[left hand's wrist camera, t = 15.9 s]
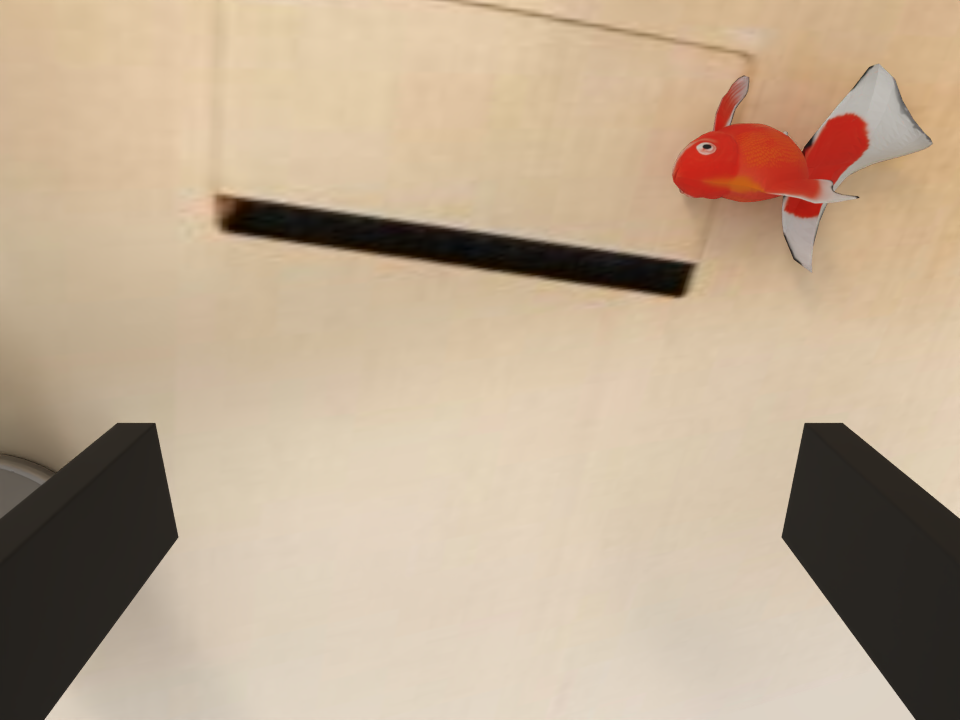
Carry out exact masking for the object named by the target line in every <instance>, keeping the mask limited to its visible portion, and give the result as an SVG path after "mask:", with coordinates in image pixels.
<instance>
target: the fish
mask: <svg viewBox="0 0 960 720" xmlns="http://www.w3.org/2000/svg"><path fill="white" fill-rule="evenodd" d="M748 87H749V77H747V76H742V77H740V78H738V79H737V80H736V81H735V82H734V83H733V84H732V86H731V88H730V89H729V91H728V93H727V94H726V95H725V96H724V97H723V98H722V100H721V103H720V105H719V107H718V110H717V112H716V117H715V122H714V128H713V131H711V132H709V133H706V134H703V135H701V136H700V137H699V138H697V139H696V140H694V141H692V142H691V143H690V144H689V145H688V146H686V147H685V148H684V149H683V150H682V152H681V153H680V154H679V156H678V158H677V160H676V161H675V163H674V166H673V173H672V176H673V181H674V183H675V184H676V185H677V186H678V188H679V190H680V192H681V193H683V194H685V195H686V196H688V197H690V198H700V197H704V198H709V199H717V198H720V197H723V198H726V199H730V200H734V201H739V202H755V201H761V200H766V199H771V198H775V197H778V196H781V195H784V197H783V205H782V225H783V232H784V237H785V239H786V241H787V244H788V246H789V249H790V251H791V254H792V256H793V259H794V260H795V261H797V262H798V263H799V264H801V265H802V266H803V267H805V268H806V269H808V270H809V271H810V272H812V252H813V245H814V241H815V237H816V233H817V229H818V225H819V221H820V219H821V217H822V215H823V212H824V210H825V208H826V205H827V203H834V202H839V201H845V200H851V199H857V198H860V197H858V196H849V195H842V194H839V193H836V192H834V191H835V190H836V189H837V187H838V186H839V185H840V184H841V183H842V182H843V181H844V180H845V179H846V178H847V177H848V176H849V175H851V174H852V173H854V172H856V171H858V170H860V169H862V168H864V167H867V166H869V165H872V164H874V163H877V162H881V161H885V160H889V159H893V158H897V157H901V156H904V155H907V154H911V153H914V152H917V151H920V150H923V149H925V148H927V147H929V146H930V145H932V144H933V143H932V141H931V139H930V138H929V137H928V136H927V135H926V134H925V133H924V132H923V131H922V129H921V128H920V127H919V126H918V124H917V123H916V122H915V121H914V119H913V118H912V116H911V114H910V113H909V111H908V109H907V107H906V106H905V104H904V102H903V101H902V98H901V95H900V92H899V89H898V86H897V84H896V81H895V79H894V78H893V77H892V76H891V75H890V74H889V73H888V72H887V71H886V70H885V69H884V68H883V67H882V66H881V65H880V64H876V65H873V66H871V67H869V68H868V69H867V71H866V72H865V73H864V75H863V76H862V77H861V78H860V80H859V81H858V82H857V84H856V85H855V86H854V88H853V89H852V90H851V91H850V92H849V93H848V94H847V96H846V97H845V98H844V99H843V100H842V101H841V102H840V104H839V105H838V106H837V107H836V108H835V110H834V111H833V112H832V113H831V114H830V116H829V117H828V118H827V119H826V121H825V122H824V123H823V124H822V126H821V127H820V128H819V129H818V131H817V132H816V133H815V134H814V136H813V137H812V138H811V139H810V141H809V142H808V143H807V144H806V146H805V147H804V149H803V151H802V152H801V150H800V149H799V148H798V146H797V145H796V144H795V143H794V142H793V140H792V139H791V138H790V137H788V132H786V131H785V132H784V133H782V132H780V131H778V130H776V129H774V128H772V127H769V126H767V125H763V124H733V125H730V124H731V122H732V119H733V115H734V112H735V109H736V108H737V106H738V105H739V103H740V102H741V101H742V100H743V98H744V97H745V96H746V94H747V92H748Z"/></svg>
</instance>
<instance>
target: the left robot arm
mask: <svg viewBox="0 0 960 720" xmlns="http://www.w3.org/2000/svg"><path fill="white" fill-rule="evenodd" d="M177 538H178V533H177V528H176V523H175V518H174V513H173V508H172V503H171V498H170V493H169V488H168V483H167V478H166V473H165V469H164V464H163V459H162V454H161V449H160V444H159V439H158V434H157V429H156V424H155V423H117V424H116V425H114V426H113V427H112V428H111V429H110V430H108V431H107V432H106V433H105V434H103V435H102V436H101V437H100V438H99V439H97V440H96V441H95V442H94V443H92V444H91V445H90V446H89V447H87V448H86V449H85V450H84V451H83V452H81V453H80V454H79V455H78V456H76V457H75V458H74V459H73V460H72V461H70V462H69V463H68V464H67V465H65V466H64V467H63V468H62V469H61V470H59V471H58V472H57V473H54V472H52V471H51V470H49V469H47V468H45V467H43V466H41V465H38V464H36V463H33V462H31V461H28V460H25V459H22V458H18V457H14V456H9V455H3V454H0V720H44V719H45V718H46V717H47V715H48V714H49V713H50V711H51V710H52V709H53V707H54V706H55V704H56V703H57V702H58V700H59V699H60V698H61V696H62V695H63V694H64V692H65V691H66V689H67V688H68V687H69V685H70V684H71V683H72V681H73V680H74V679H75V677H76V676H77V675H78V673H79V672H80V670H81V669H82V668H83V666H84V665H85V664H86V662H87V661H88V660H89V658H90V657H91V655H92V654H93V653H94V651H95V650H96V649H97V647H98V646H99V645H100V643H101V642H102V640H103V639H104V638H105V636H106V635H107V634H108V632H109V631H110V630H111V628H112V627H113V626H114V624H115V623H116V621H117V620H118V619H119V617H120V616H121V615H122V613H123V612H124V611H125V609H126V608H127V606H128V605H129V604H130V602H131V601H132V600H133V598H134V597H135V596H136V594H137V593H138V592H139V590H140V589H141V587H142V586H143V585H144V583H145V582H146V581H147V579H148V578H149V577H150V575H151V574H152V572H153V571H154V570H155V568H156V567H157V566H158V564H159V563H160V562H161V560H162V559H163V558H164V556H165V555H166V553H167V552H168V551H169V549H170V548H171V547H172V545H173V544H174V543H175V541H176V540H177ZM782 538H783V540H784V541H785V543H786V544H787V545H788V547H789V548H790V549H791V551H792V552H793V553H794V555H795V556H796V558H797V559H798V560H799V562H800V563H801V564H802V566H803V567H804V568H805V570H806V571H807V572H808V574H809V575H810V577H811V578H812V579H813V581H814V582H815V583H816V585H817V586H818V587H819V589H820V590H821V592H822V593H823V594H824V596H825V597H826V598H827V600H828V601H829V602H830V604H831V605H832V606H833V608H834V609H835V611H836V612H837V613H838V615H839V616H840V617H841V619H842V620H843V621H844V623H845V624H846V626H847V627H848V628H849V630H850V631H851V632H852V634H853V635H854V636H855V638H856V639H857V641H858V642H859V643H860V645H861V646H862V647H863V649H864V650H865V651H866V653H867V654H868V655H869V657H870V658H871V660H872V661H873V662H874V664H875V665H876V666H877V668H878V669H879V670H880V672H881V673H882V674H883V676H884V677H885V679H886V680H887V681H888V683H889V684H890V685H891V687H892V688H893V689H894V691H895V692H896V694H897V695H898V696H899V698H900V699H901V700H902V702H903V703H904V704H905V706H906V707H907V709H908V710H909V711H910V713H911V714H912V715H913V717H914V718H915V719H916V720H960V519H959V518H958V517H957V516H956V515H955V514H953V513H952V512H951V511H950V510H948V509H947V508H946V507H945V506H944V505H942V504H941V503H940V502H939V501H937V500H936V499H935V498H934V497H933V496H931V495H930V494H929V493H928V492H926V491H925V490H924V489H923V488H922V487H920V486H919V485H918V484H917V483H915V482H914V481H913V480H912V479H910V478H909V477H908V476H907V475H906V474H904V473H903V472H902V471H901V470H899V469H898V468H897V467H896V466H895V465H893V464H892V463H891V462H890V461H888V460H887V459H886V458H885V457H884V456H882V455H881V454H880V453H879V452H877V451H876V450H875V449H874V448H873V447H871V446H870V445H869V444H868V443H866V442H865V441H864V440H863V439H861V438H860V437H859V436H858V435H857V434H855V433H854V432H853V431H852V430H850V429H849V428H848V427H847V426H846V425H844V424H843V423H805V424H804V429H803V434H802V439H801V444H800V449H799V454H798V459H797V464H796V469H795V473H794V478H793V483H792V488H791V493H790V498H789V503H788V508H787V513H786V518H785V523H784V528H783V533H782Z"/></svg>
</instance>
